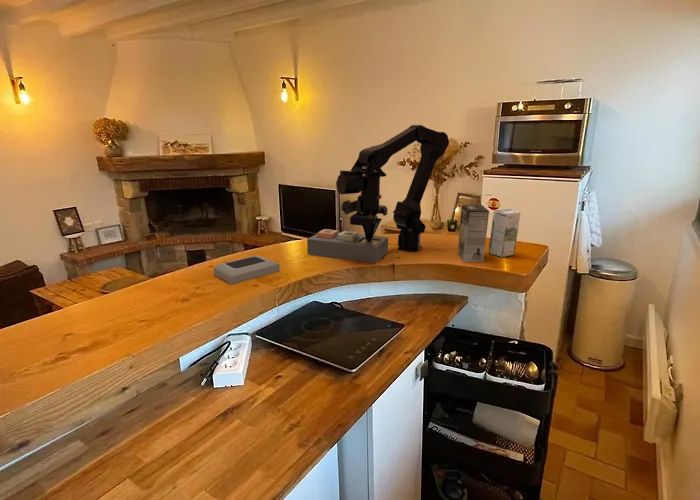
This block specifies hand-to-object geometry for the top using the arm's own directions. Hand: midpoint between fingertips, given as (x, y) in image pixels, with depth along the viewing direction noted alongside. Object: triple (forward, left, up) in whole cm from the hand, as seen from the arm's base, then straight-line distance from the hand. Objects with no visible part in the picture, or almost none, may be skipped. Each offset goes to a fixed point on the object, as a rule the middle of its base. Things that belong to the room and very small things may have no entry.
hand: (369, 241), depth 131 cm
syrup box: (-39, -18, -5) cm, 43 cm away
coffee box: (-30, -11, -5) cm, 32 cm away
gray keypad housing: (+7, 0, -5) cm, 8 cm away
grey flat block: (+26, +28, -5) cm, 39 cm away
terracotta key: (+14, 0, -1) cm, 14 cm away
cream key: (0, 0, -3) cm, 3 cm away
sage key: (+7, 0, -1) cm, 7 cm away
